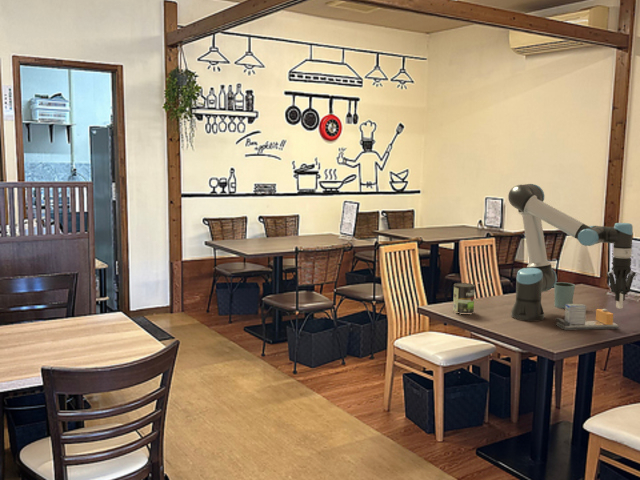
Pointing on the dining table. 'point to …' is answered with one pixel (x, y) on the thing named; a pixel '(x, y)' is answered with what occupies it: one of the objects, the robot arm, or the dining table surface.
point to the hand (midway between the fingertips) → (619, 307)
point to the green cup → (563, 294)
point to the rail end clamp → (604, 316)
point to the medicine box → (575, 313)
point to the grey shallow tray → (584, 325)
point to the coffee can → (464, 297)
